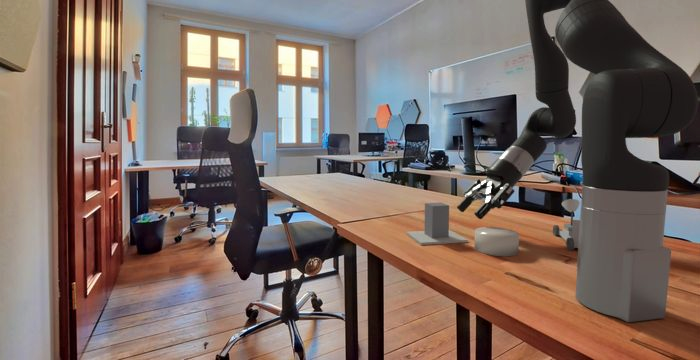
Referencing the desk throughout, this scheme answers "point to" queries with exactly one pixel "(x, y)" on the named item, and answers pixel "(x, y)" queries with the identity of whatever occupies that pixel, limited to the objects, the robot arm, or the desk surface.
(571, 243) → the toy car
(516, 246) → the white round part
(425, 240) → the rubber mat
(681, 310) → the desk surface
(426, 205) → the cap block
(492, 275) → the desk surface
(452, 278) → the desk surface
